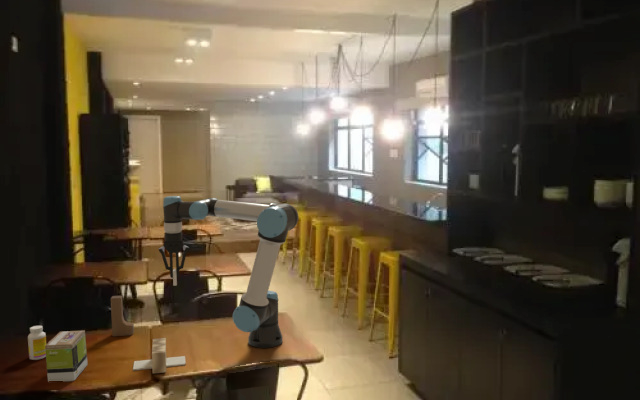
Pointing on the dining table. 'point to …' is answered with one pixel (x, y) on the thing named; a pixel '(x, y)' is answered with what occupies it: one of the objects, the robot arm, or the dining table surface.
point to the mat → (169, 362)
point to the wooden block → (119, 318)
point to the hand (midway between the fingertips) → (175, 284)
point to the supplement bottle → (36, 343)
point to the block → (159, 355)
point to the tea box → (66, 356)
